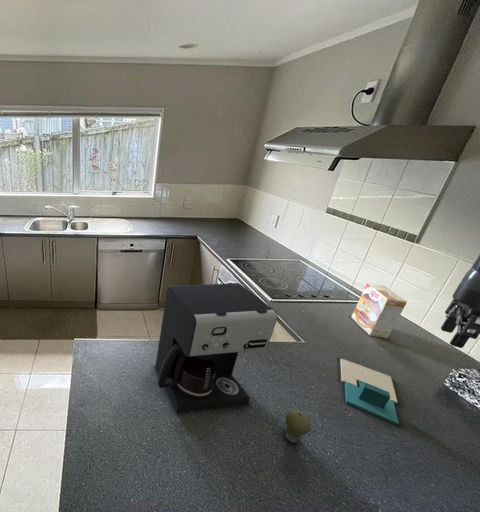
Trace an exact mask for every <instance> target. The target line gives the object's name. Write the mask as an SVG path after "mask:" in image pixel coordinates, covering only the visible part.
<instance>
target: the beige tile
mask: <svg viewBox="0 0 480 512" xmlns="http://www.w3.org/2000/svg"><path fill="white" fill-rule="evenodd" d="M339 362H340V381H341V383H342V384H345V383H346V382H347V383H349V384H352V385H354V386H357V387H358V383H359V381H360V382H362V383H367V384H369V385H372V386H375V387H377V388H380V389H382V390H385V391H387V392H389V394H390V399H389V400H392V401H393V402H394V405H397V404H398V403H399V401H398V398H397V394H396V391H395V387H394V383H393V379H392V376H390V375H388V374H386V373H382V372H380V371H377V370H374V369H372V368H368V367H367V366H363V365H360V364H358V363H355V362H352V361H350V360H347V359H344V358H340V361H339Z"/></svg>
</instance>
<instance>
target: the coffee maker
mask: <svg viewBox="0 0 480 512" xmlns="http://www.w3.org/2000/svg"><path fill="white" fill-rule="evenodd" d="M166 289H167V290H166V295H165V301H164V308H163V314H162V321H161V326H160V327H161V328H160V333H159V340H158V347H157V354H156V360H155V366H154V369H155V371H156V373H157V375H158V379H157V385H158V387H159V388H160V389H164V390H165V392H166V395H167V396H168V398H169V400H170V403H171V405H172V407H173V409H174V411H175V413H176V414H182V413H190V412H199V411H207V410H215V409H224V408H233V407H241V406H247V405H249V402H250V396H249V395H248V394H247V392H246V391H245V389H243V387H242V386H241V385H240V383H239V382H238V381H237V379H236V378H235V376H234V375H233V374H234V373H233V372H234V369H235V365H236V362H237V358H238V355H239V353H243V352H244V353H245V352H253V351H254V352H255V351H265V350H267V349H268V347H269V344H270V342H271V338H272V335H273V333H274V329H275V327H276V324H277V322H278V313H277V312H276V310H275V309H273V308H272V307H271V306H269V304H267V303H266V302H265V301H263V300H262V299H261V298H259V297H258V296H257V295H255V294H254V293H252V292H251V291H250V290H249V289H248V288H246V287H245V286H243V284H241V283H239V282H233V283H211V284H208V283H207V284H186V285H168V287H167V288H166Z"/></svg>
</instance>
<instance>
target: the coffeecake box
mask: <svg viewBox="0 0 480 512" xmlns="http://www.w3.org/2000/svg"><path fill="white" fill-rule="evenodd" d="M407 303H408V301H407V300H405V299H404V298H403V297H402V296H400V295H399V294H397V293H396V292H394V291H393V290H391V289H390V288H388V287H387V286H385V285H381V284H375V283H371V282H370V283H368V282H367V283H366V284H365V286H364V289H363V291H362V293H361V295H360V297H359V300H358V302H357V304H356V306H355V308H354V311H353V312H352V315H351V319H352V320H353V321H354V322H355V323H356V324H357V325H358V326H359V327H360V328H361V329H363V331H364V332H366V334H368V335H369V336H371V337H378V338H383V339H389V337H390V334H391V333H392V331H393V329H394V327H395V325H396V324H397V321H398V320H399V318H400V316H401V314H402V312H403V310H404V308H405V307H406V305H407Z"/></svg>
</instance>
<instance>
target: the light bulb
mask: <svg viewBox="0 0 480 512" xmlns="http://www.w3.org/2000/svg"><path fill="white" fill-rule="evenodd" d="M285 425H286V434H285V438H286V440H288V441H289V442H291V443H297V440H298V439H299V438H301V436H304V435H307V434H308V433H309V432H310V431H311V428H312V423H311V421H310V418H309V417H308V416H307V415H306V414H305V413H304V412H302V411H299V410H294V409H293V410H290V411H287V413H286V415H285Z"/></svg>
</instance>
